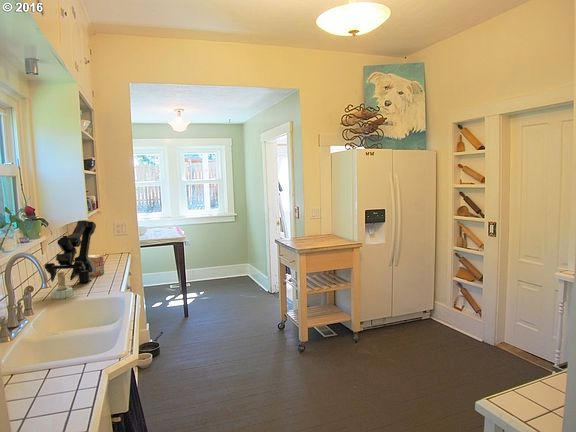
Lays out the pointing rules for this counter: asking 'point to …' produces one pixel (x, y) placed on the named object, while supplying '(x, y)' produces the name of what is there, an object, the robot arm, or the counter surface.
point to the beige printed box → (96, 264)
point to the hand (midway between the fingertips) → (61, 280)
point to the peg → (61, 281)
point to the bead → (62, 293)
